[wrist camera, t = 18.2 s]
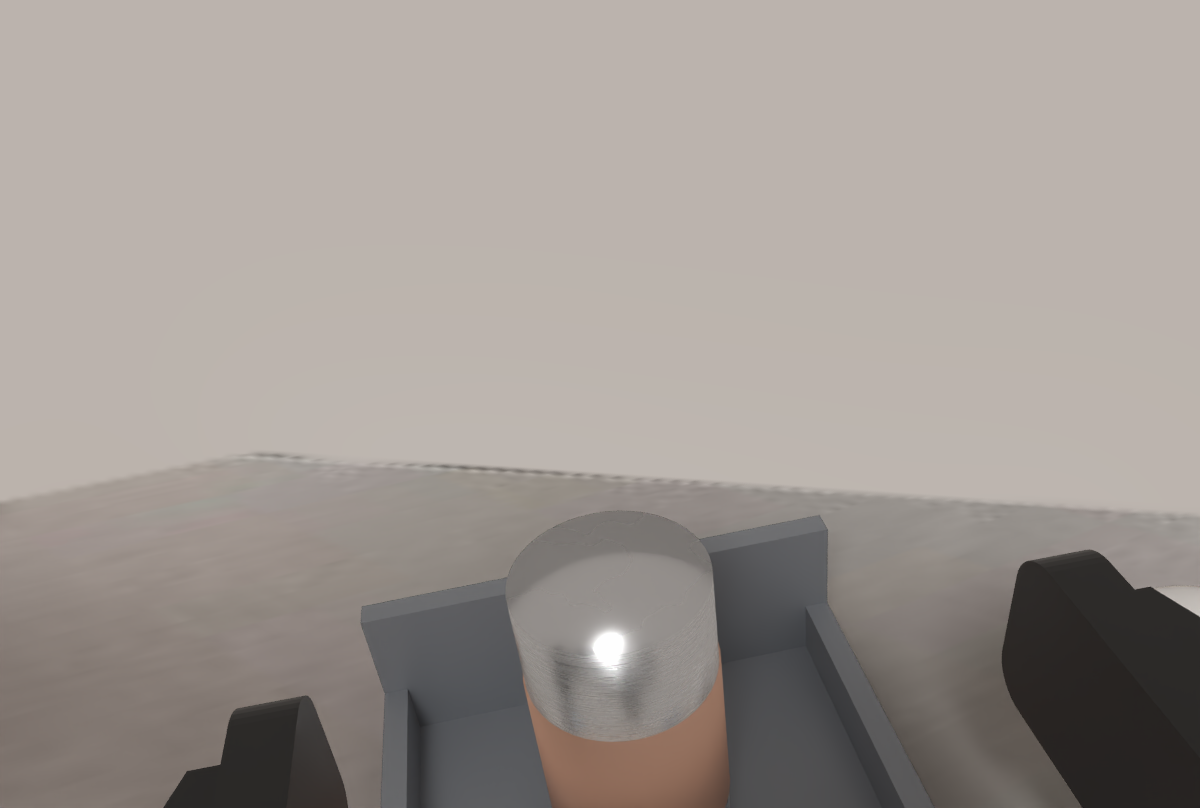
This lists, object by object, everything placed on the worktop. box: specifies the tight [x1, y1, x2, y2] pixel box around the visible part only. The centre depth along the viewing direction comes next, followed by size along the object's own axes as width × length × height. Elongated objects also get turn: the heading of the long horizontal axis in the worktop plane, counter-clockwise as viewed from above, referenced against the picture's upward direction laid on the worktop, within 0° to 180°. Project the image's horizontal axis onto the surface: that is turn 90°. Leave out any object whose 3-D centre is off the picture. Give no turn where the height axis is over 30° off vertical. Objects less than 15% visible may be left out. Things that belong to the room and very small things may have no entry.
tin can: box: [506, 511, 730, 808], centre depth 27 cm, size 5×5×11 cm
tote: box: [361, 515, 935, 808], centre depth 29 cm, size 16×14×6 cm
